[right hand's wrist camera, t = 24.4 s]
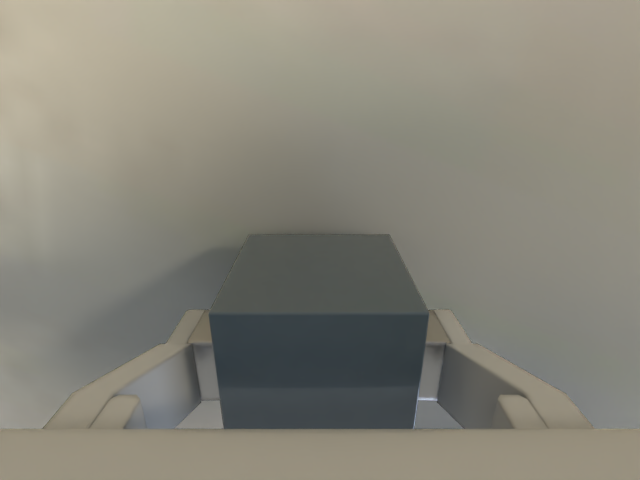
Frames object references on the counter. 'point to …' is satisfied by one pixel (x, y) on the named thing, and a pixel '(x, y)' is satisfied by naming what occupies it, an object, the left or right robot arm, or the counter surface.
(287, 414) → the block
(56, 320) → the counter surface
